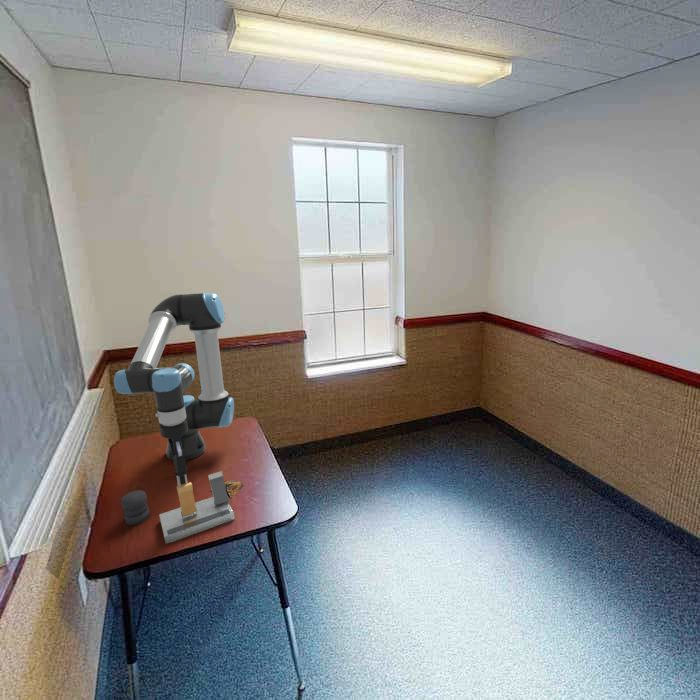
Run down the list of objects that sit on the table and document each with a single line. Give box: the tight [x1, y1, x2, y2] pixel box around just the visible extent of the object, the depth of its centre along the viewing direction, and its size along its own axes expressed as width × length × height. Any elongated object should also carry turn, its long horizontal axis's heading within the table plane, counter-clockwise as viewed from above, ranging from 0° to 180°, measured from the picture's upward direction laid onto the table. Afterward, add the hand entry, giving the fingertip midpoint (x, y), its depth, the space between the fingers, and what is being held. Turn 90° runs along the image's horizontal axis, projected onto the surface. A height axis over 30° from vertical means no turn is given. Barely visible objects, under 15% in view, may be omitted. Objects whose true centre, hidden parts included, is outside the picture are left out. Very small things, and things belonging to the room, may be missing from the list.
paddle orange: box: [176, 481, 197, 517], centre depth 128 cm, size 2×4×10 cm, turn 120°
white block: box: [207, 470, 230, 506], centre depth 135 cm, size 2×4×10 cm
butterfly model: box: [208, 479, 245, 499], centre depth 147 cm, size 9×12×3 cm
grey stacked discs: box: [120, 490, 151, 526], centre depth 132 cm, size 7×7×8 cm
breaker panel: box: [158, 496, 235, 545], centre depth 130 cm, size 12×20×3 cm, turn 120°
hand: (183, 491), depth 129 cm, fingers closed
